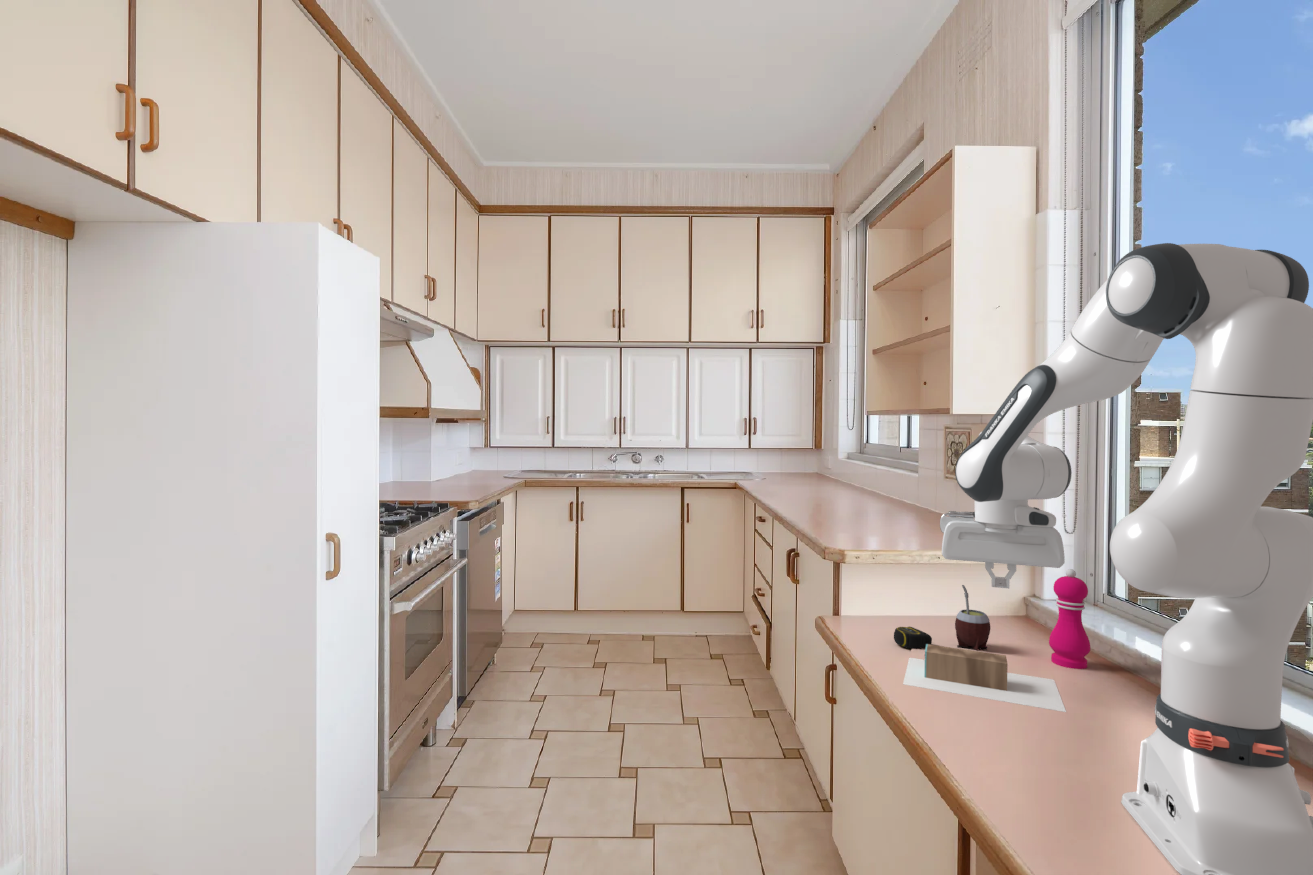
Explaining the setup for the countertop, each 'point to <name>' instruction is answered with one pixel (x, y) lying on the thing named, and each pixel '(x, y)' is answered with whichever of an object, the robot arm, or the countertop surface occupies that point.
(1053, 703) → the white flat rectangular panel
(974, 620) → the mate gourd
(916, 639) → the tape measure
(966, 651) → the walnut block
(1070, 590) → the pepper mill
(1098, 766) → the countertop surface
